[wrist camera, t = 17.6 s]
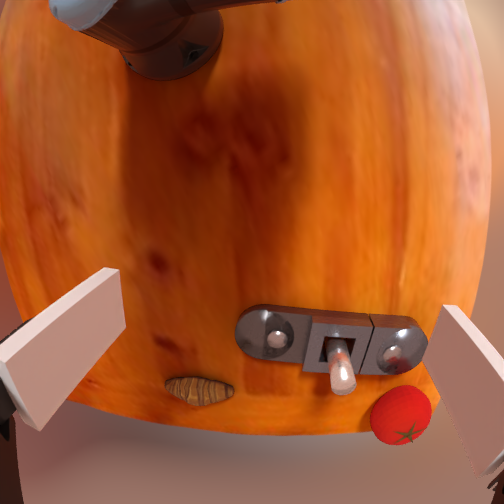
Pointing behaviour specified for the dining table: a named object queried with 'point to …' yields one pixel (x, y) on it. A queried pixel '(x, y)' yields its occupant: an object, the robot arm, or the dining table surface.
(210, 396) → the croissant
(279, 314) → the chain end
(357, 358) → the chain end
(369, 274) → the dining table surface
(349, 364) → the steel pin
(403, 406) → the tomato
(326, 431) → the dining table surface
